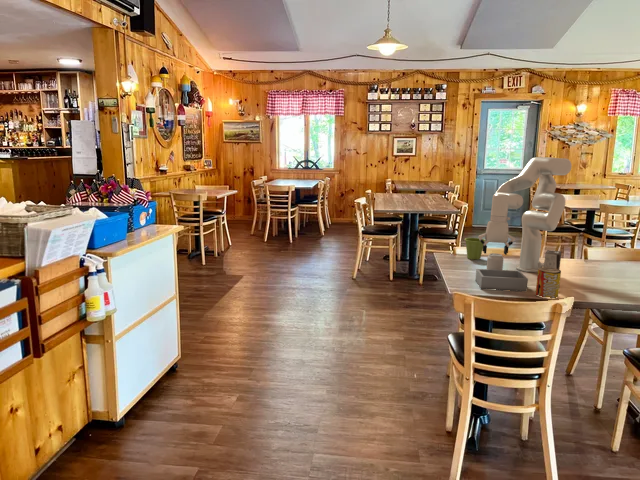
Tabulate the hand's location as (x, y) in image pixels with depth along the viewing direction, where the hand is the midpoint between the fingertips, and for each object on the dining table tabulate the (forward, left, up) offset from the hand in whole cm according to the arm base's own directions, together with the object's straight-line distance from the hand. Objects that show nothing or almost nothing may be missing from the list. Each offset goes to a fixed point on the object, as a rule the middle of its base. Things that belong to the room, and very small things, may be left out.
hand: (494, 253), depth 231 cm
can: (-1, -1, -13) cm, 13 cm away
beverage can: (-18, +26, -13) cm, 33 cm away
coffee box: (-25, +7, -13) cm, 29 cm away
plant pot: (+2, -41, -13) cm, 42 cm away
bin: (-1, +13, -13) cm, 18 cm away
